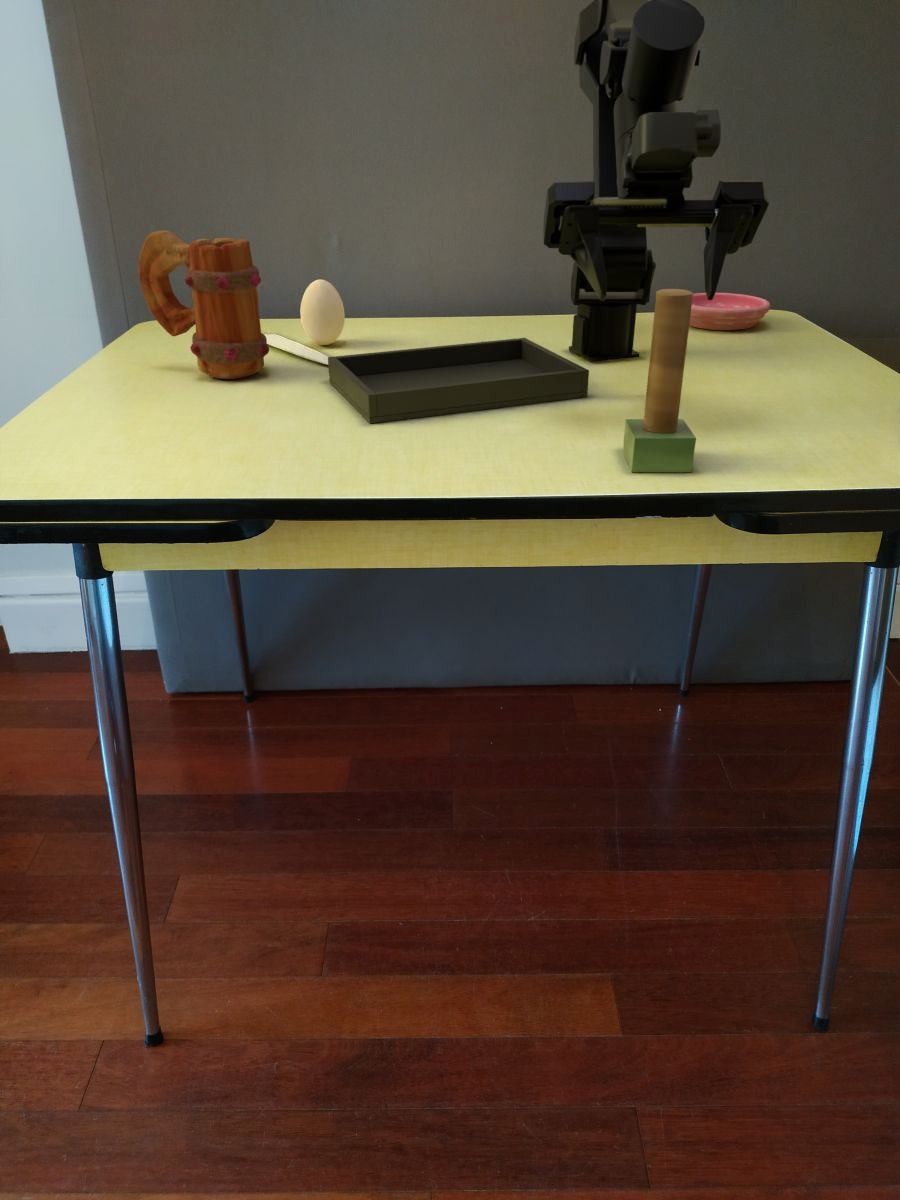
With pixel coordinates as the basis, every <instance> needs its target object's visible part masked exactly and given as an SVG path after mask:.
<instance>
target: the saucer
mask: <svg viewBox="0 0 900 1200" xmlns="http://www.w3.org/2000/svg"><path fill="white" fill-rule="evenodd" d="M770 307H771V303H770V301H768V299H765V298H762V297H758V296H754V295H749V294H741V293H733V292H715V295H714V297H713V300H708V299H707V295H706V292H698V293H697V292H696V293H693V298H692V307H691V315H690V324H689V327H692V328H693V327H694V328H698V329H703V330H704V329H705V330H714V331H739V330H747V329H751V328H753V327H754V326H756V324H757V323H758V321H759V320H762V319H763V318H764V317H765V315H766V314H768V312H769V311H770Z"/></svg>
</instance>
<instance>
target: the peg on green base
mask: <svg viewBox="0 0 900 1200" xmlns="http://www.w3.org/2000/svg"><path fill="white" fill-rule="evenodd" d="M693 294H694V292H693V291H691V290H688V289H681V288H663V289H659V290H656V293H655V304H654V312H653V323H652V333H651V341H650V342H651V344H650V353H649V363H648V373H647V382H646V392H645V401H644V413H643V414H644V415H643V418H626V419H625V420H624V421H625V422H624V433H623V443H622V445H623V446H622V453H623V456H624V458H625V460H626V463H627V465H628V467H629V470H630V471H631V473H692V472H693V464H694V457H695V456H694V455H695V449H696V441H697V437H696V436H695V434H694V433H693V431H692V430H691V428H690V426H688V425H689V424H687V422H686V420H685V419H683V418H679V416H680V415H679V414H680V407H681V399H682V390H683V381H684V380H683V379H684V372H685V363H686V357H687V348H688V339H689V331H690V325H689V324H690V315H691V307H692V298H693Z"/></svg>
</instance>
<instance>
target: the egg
mask: <svg viewBox="0 0 900 1200" xmlns="http://www.w3.org/2000/svg"><path fill="white" fill-rule="evenodd" d="M299 313H300V322H301V325H302V329H303V330H304V332H305V334H306V335H307V337H308V338H309V339H310V340H311V341H312V342H314V343H315V344H317V345H320V346H329V345H331V344H333V343H334V342H335V341H337V340H338V338H339V337H340V336H341V334H342V332H343V331H344V327H345V321H346V313H345V307H344V303H343V299H342V298H341V296H340V294H339V292H338V290H337V289H336V288H335V286H334V285H333V284H332V283H330V282H329V281H327V280H325V279H316V280H314V281H312V282H311V283H310V284H309V285H308V286H307V287H306V289H305V291H304V293H303V295H302V299H301V301H300V312H299Z"/></svg>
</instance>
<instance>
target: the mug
mask: <svg viewBox="0 0 900 1200" xmlns="http://www.w3.org/2000/svg"><path fill="white" fill-rule="evenodd" d="M181 265H182V266H186V267H187V268H186V270H185V278H184V282H185V285H187V286H188V288H190V289H191V295H192V303H193V307H187V306H185V305H183V304H182V303H181V302H180V301H179V299H178V298H177V296H176V295H175V294H174V293H175V292H174V290H173V288H172V284H171V281H170V276H169V275H170V274H171V273H172V272H173V271H175V270H176V269H177V268H179V267H180V266H181ZM137 266H138V279H139V284H140V287H141V291H142V295H143V297H144V299H145V303H146V305H147V307H148V309H149V311H150V313H151V314H152V315H153V317H154V319H155V320H156V321H157V322H158V324H159V325H160V326H161V327H162V328H163V329H164V330H165V331H166V333H168V334H169V335H170V336H171V337H177V336H180V335H183V334H186V333H187V332H189V331H190V330H191V329H192V328H193V327H194V326H195V332H194V333H193V334H192V337H191V341H192V343H191V345H190V347H189V348H190V351H191V353H192V354H193V355H195V357H196V358H197V359H196V360H197V367H198V369H199V370H200V371H201V372H202V373H203V374H205V375H208V376H209V377H212V378H213V379H220V380H221V379H224V380H236V379H242V378H247V377H249V376H252V375H254V374H256V373H258V372H259V371H261V370H262V369H263V368H264V366H265V356H267V355H268V354H269V352H270V346H268V344H267V338H266V336H265V335H264V334H262V333H261V331H262V327H261V319H260V308H259V307H260V306H259V304H260V303H259V293H258V290H257V289H258V288H257V287H258V286H259V285H260V284H261V282H262V279H261V277H260V270H259V269H258V267H257V266H256V265H254V263H253V257H252V252H251V245H250V241H249V240H247V239H246V238H241V239H235V238H231V237H216V238H215V239H214V240H210V239H209V238H200V239H195V240H193V241H191V243H189V244H188V243H185V242H184V241H183V240H181V239H180V238H179V237H178V236H177V235H175V233H174V232H173V231H170V230H168V229H164V230H157V231H153V232H151V233H149V234H148V235H147V236H146V239H145V241H144V242H143V244H142V247H141V249H140V253H139V258H138V263H137Z"/></svg>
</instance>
